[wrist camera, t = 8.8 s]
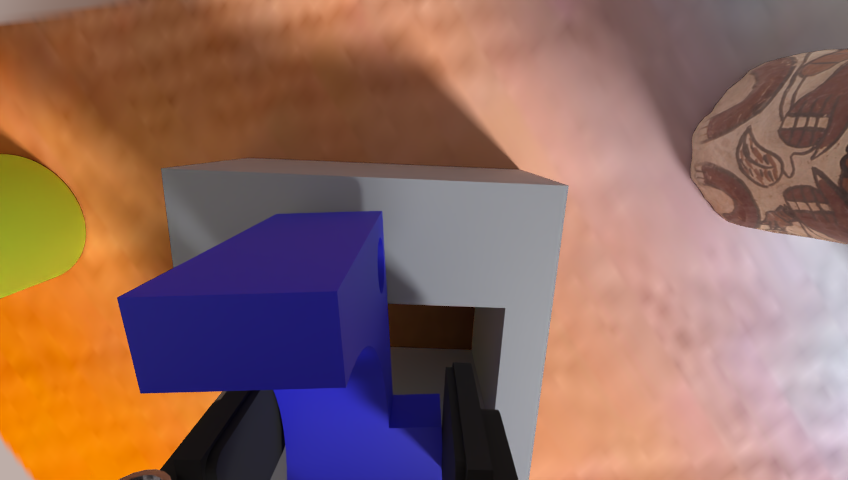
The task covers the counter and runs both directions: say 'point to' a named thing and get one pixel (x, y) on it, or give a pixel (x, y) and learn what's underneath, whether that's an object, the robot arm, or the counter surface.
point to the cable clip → (293, 343)
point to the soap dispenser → (36, 225)
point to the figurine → (780, 148)
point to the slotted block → (414, 258)
